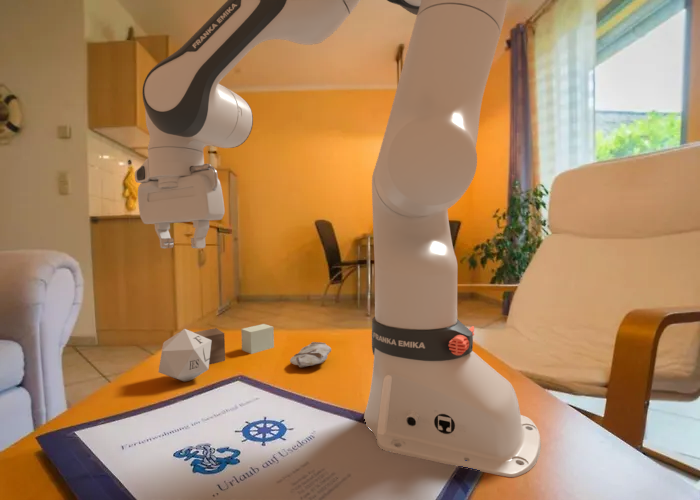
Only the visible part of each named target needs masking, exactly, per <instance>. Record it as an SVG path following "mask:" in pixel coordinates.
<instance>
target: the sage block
mask: <svg viewBox="0 0 700 500" xmlns="http://www.w3.org/2000/svg"><path fill="white" fill-rule="evenodd" d="M274 332H275V331H274V326H272V325H269V324H267V323H261V324H257V325H252V326H249V327H243V328H241V350H242V351H243V352H245V353H249V354H250V355H253V354H257V353H260V352H263V351H266V350H270V349H274V348H275V340H274V339H275V336H274V335H275V334H274Z"/></svg>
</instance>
